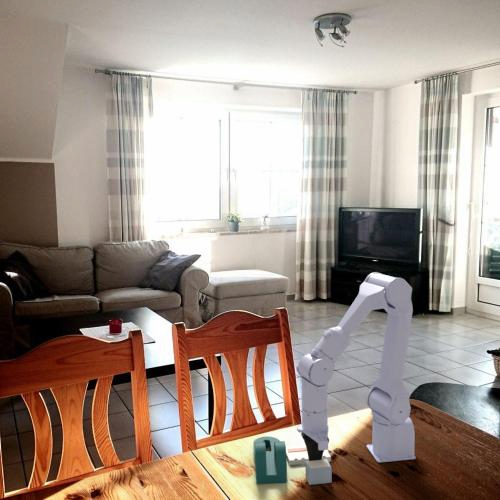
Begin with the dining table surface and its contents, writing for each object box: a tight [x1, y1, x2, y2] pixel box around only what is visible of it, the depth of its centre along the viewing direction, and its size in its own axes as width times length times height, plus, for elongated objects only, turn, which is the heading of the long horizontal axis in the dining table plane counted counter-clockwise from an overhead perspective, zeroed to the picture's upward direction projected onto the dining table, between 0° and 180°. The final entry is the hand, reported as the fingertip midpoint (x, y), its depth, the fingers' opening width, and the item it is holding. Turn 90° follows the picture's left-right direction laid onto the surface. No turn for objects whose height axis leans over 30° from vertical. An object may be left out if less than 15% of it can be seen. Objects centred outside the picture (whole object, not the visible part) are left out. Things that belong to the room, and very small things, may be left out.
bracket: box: [252, 436, 288, 485], centre depth 128 cm, size 18×7×8 cm, turn 2°
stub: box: [304, 459, 333, 486], centre depth 121 cm, size 5×4×4 cm
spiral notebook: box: [286, 445, 332, 466], centre depth 131 cm, size 10×6×1 cm, turn 98°
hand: (315, 464), depth 124 cm, fingers closed
